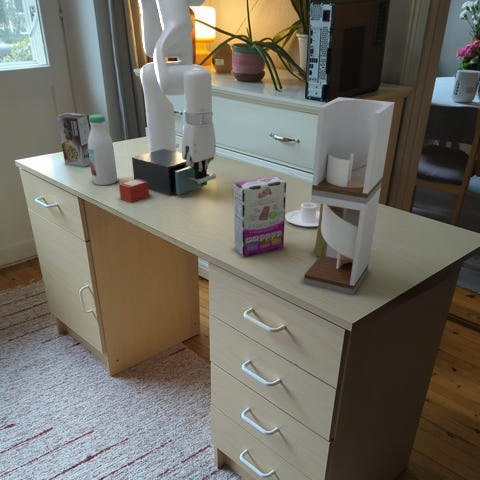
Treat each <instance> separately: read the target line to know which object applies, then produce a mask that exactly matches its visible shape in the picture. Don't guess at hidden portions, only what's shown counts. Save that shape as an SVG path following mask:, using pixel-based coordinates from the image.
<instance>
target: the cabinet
mask: <svg viewBox="0 0 480 480" xmlns="http://www.w3.org/2000/svg"><path fill="white" fill-rule="evenodd" d="M131 162H132V172H133V180H134V179H140V180H143V181H147V182H148V191H149V190H150V191H153V192H156V193H159V194H163V195H166V196H172V195H177V194H176V191H172V190H171V179H170V169H172V168H175V167H178V166H181V165H185V164H186V160H183V158H182V152H179V151H176V152H175V151H171V150H167V149H161V150H158V151H154V152H150V151H149V152H147V153H143V154H140V155H136V156H133V157H131Z"/></svg>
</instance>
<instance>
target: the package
mask: <svg viewBox="0 0 480 480" xmlns="http://www.w3.org/2000/svg"><path fill="white" fill-rule="evenodd" d="M118 189H119V197H120V200H122V201H126V202H129V203H134V202H136V201H137V202H138V201H139V200H142V199H145V198H148V197H149V195H150V194H149V193H150V192H149V189H148V182H147V181H143V180H140V179H134V178H133V179H131V180H128V181H125V182H122V183H118Z"/></svg>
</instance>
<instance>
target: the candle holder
mask: <svg viewBox="0 0 480 480" xmlns="http://www.w3.org/2000/svg"><path fill="white" fill-rule="evenodd" d="M317 208H318V205H317V203H314V202H303V203H301V204H300V209H295V210H291V211H288V212H287V213H285V221H287V222H289V223H291V224H293V225H296V226H299V227H300V226H301V227H318V224H319V216H320V210H317Z"/></svg>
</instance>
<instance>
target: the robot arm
mask: <svg viewBox="0 0 480 480" xmlns="http://www.w3.org/2000/svg"><path fill="white" fill-rule="evenodd" d="M137 1H138V3H139V8H140V14H141V15H140V17H141V31H142V45H143V51H144V54H145V55H146V56H147V57H148V58H151V59H152V58H153V61H152V62H148V63H146V64H144V65H142V67H141V69H140V73H139V75H140V82H141V86H142V91H143V96H144V102H145V111H146V113H145V114H146V124H147V137H148V147H149V149H148V150H149V153H150V152H154V151H158V150H161V149H167V150H171V151H175V152H177V149H178V148H180V144H179V143H178V142H177V140H176V139H177V138H176V123H175V121H176V120H175V108H174V104H173V103H172V101H171V100H170V99H169V98H168V97H167V96H183V98H184V121H185V123H184V124H183V126H182V135H181V153H182V158H183V160H186V166H188V167H192V168H193V170H195V179H200V178H203V177H206V176H207V175H206V170H207V171H208V170H209V164H210V163H211V162H212V161H213V160H214V159H215V156H216V151H217V145H216V143H217V141H216V140H217V139H216V132H215V125H214V122H213V116H214V113H213V90H212V89H213V88H212V87H213V86H212V83H213V81H212V73H211V71H210V70H209V69H206V68H205V67H204V66H203V65H199V64H194V53H193V52H194V49H193V48H194V45H193V37H192V32H193V29H194V25H193V20H192V15H191V12H190V7H201V6H203V5H204V3H205V1H206V0H137ZM174 58H176V59H177V61H166V59H174ZM197 163H198V164H197ZM195 183H197V182H196V181H195ZM206 183H207V184H208V181H207V182H204V183H201V185H203V184H206Z"/></svg>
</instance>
